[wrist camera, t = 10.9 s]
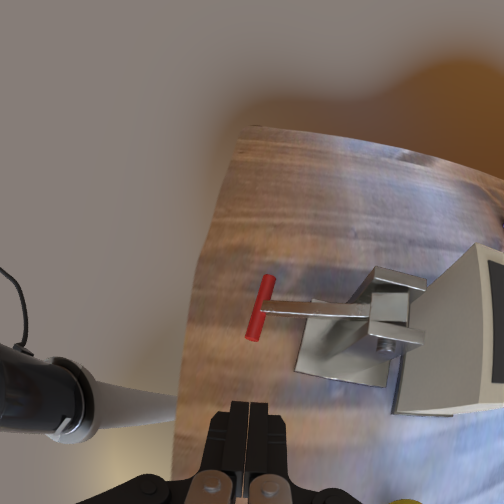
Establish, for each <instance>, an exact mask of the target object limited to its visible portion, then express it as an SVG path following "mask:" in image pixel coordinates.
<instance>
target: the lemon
mask: <svg viewBox="0 0 504 504" xmlns="http://www.w3.org/2000/svg"><path fill="white" fill-rule="evenodd" d="M389 504H422V503H420V502H418V501H415V500H411V499H401V500H397V501H394V502H391V503H389Z"/></svg>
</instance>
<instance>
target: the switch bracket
mask: <svg viewBox="0 0 504 504" xmlns="http://www.w3.org/2000/svg"><path fill="white" fill-rule="evenodd" d="M426 291H427V279H424V278H420V277H416V276H413V275H409V274H405V273H401V272H397V271H394V270H390V269H386V268H382V267H378V266H375V267H374V268H373V270H372V271H371V272H370V274H369V275H368V276H367V277H366V279H365V280H364V281H363V283H362V284H361V285H360V286H359V288H358V289H357V290H356V292H355V293H354V294H353V295H352V297H351V298H350V299H349V300H348V302H347V303H350V304H371V295H372V293H409V305H410V304H411V303H412V302H414V301H415V300H416V299H417V298H419V297H420V296H421V295H422V294H424V293H425V292H426ZM310 302H317V303H329V302H325V301H321V300H317V299H313V298H312V299H311V301H310ZM424 340H425V331H423V330H418V329H413V328H408V327H403V326H398V325H393V324H388V323H383V322H379V321H374V320H369V321H341V320H322V319H306V323H305V328H304V332H303V336H302V340H301V344H300V348H299V352H298V356H297V360H296V364H295V368H294V372H297V373H302V374H306V375H311V376H316V377H320V378H325V379H330V380H336V381H341V382H347V383H352V384H358V385H365V386H371V387H378V388H385V387H386V383H387V377H388V371H389V365H390V360H391V359H393V358H395V357H398V356H400V355H402V354H405V353H407V352H409V351H411V350H413V349H416V348H418V347H420V346H422V345H424Z"/></svg>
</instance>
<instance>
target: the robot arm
mask: <svg viewBox="0 0 504 504" xmlns="http://www.w3.org/2000/svg"><path fill="white" fill-rule="evenodd" d="M0 272H1V273H2V274H3V275H4V276H5V277H7V278H8V279H9V280H10V281H11V282H12V283H13V284H14V285H15V287H16V289H17V291H18V293H19V297H20V300H21V304H22V310H23V317H24V333H23V338H22V342H21V343H16V344H14V346H13V349H12V348H9V347H7V346H5V345H3V344H0V432H11V433H29V434H53V435H67V434H71V433H73V432H75V431H76V430H77V429H78V428H79V427H80V426H81V424H82V423H83V420H84V418H85V413H86V399H85V394H84V391H83V388H82V386H81V384H80V382H79V380H78V379H77V377H76V376H75V375H74V374H73V373H72V372H71V371H69V370H68V369H66V368H64V367H62V366H58V365H53V364H50V363H48V362H45V361H42V360H40V359H37V358H34V357H33V356H34V354H33V353H31V352H30V351H29V350H28V349H26V348H24V346H25V345H26V342H27V337H28V316H27V309H26V304H25V300H24V296H23V293H22V290H21V287H20V285H19V284H18V282H17V281H16V280H15V279H14V278H13V277H12V276H10V275H9V274H8V273H6V272H5V271H4V270H3V269H2V268H1V267H0ZM248 414H249V402H241V401H232V402H231V407H230V412H220V411H218V412H217V413H216V414H215V415H214V417H213V418H212V419H211V422H210V426H209V431H208V435H207V440H206V444H205V448H204V453H203V457H202V462H201V466H200V469H199V471H198V472H197V473H196V474H195V475H194V476H192V477H191V478H188V479H185V480H179V481H165V480H164V479H163V478H161V477H159V476H157V475H154V474H143V475H140V476H137V477H135V478H133V479H131V480H129V481H127V482H125V483H123V484H121V485H119V486H116V487H114V488H113V489H110V490H108V491H106V492H103V493H101V494H99V495H96V496H94V497H91V498H89V499H86V500H84V501H81V502H79V503H76V504H235V501H236V497H241V496H242V485H243V475H244V491H243V498H248V504H362V503H361V502H359V501H358V500H357V499H355V498H354V497H352V496H351V495H350V494H348V493H347V492H345V491H344V490H341V489H338V488H328V489H324V490H322V491H320V492H315V491H311V490H306V489H302V488H300V487H298V486H296V485H295V484H293V483H292V481H291V480H290V479H289V476H288V470H287V445H286V424H285V423H284V421H283V419H282V418H281V416H280V415H268V403H257V402H251V404H250V415H249V427H248ZM247 430H248V439H247ZM246 442H247V450H246ZM245 453H246V461H245ZM244 464H245V473H244Z"/></svg>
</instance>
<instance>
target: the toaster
mask: <svg viewBox="0 0 504 504" xmlns="http://www.w3.org/2000/svg"><path fill="white" fill-rule="evenodd" d="M408 328H413V329H418V330H423V331H425V340H424V345H422V346H420V347H418V348H416V349H413V350H411V351H409V352H407V353H405V354H402V355H401V359H400V366H399V373H398V379H397V385H396V391H395V396H394V401H393V406H392V411H391V414H393V415H405V416H421V417H453V414H463V413H472V412H480V411H487V410H493V409H499V408H504V253H502V252H500V251H497V250H495V249H492V248H490V247H487V246H484V245H482V244H479V243H476V242H475V243H474V244H473V245H472V246H471V247H470V248H469V249H468V250H467V251H466V252H465V253H464V254H463V255H462V256H461V257H460V258H459V259H458V260H457V261H456V262H455V263H454V264H453V265H452V266H451V267H450V268H449V269H447V270H446V271H445V272H444V273H443V274H442V275H441V276H440V277H439V278H438V279H436V280H435V281H434V282H433V283H432V284H431V285H430V286H428V287H427V291H426V292H425V293H424V294H422V295H421V296H420V297H419V298H417V299H416V300H415V301H414V302H412V303H411V304H410V305H409V316H408Z"/></svg>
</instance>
